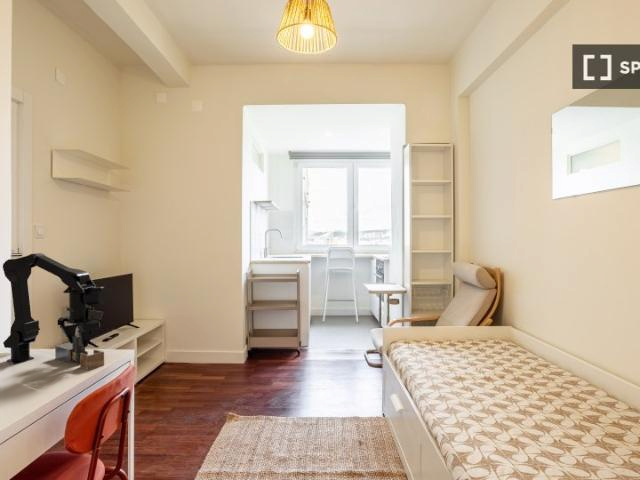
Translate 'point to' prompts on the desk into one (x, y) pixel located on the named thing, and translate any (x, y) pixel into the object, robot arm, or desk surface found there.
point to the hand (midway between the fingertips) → (78, 345)
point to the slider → (77, 348)
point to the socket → (92, 360)
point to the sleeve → (64, 352)
